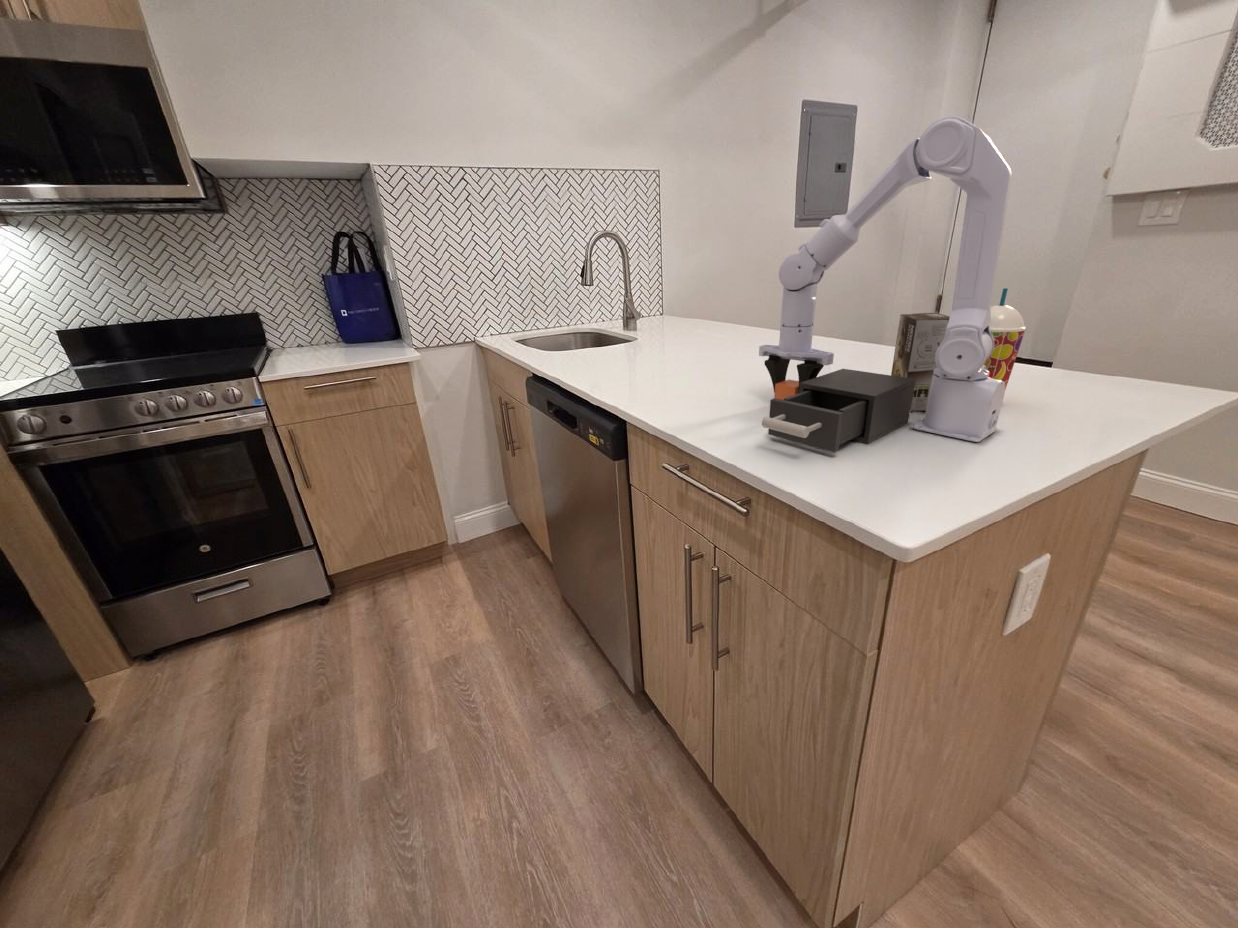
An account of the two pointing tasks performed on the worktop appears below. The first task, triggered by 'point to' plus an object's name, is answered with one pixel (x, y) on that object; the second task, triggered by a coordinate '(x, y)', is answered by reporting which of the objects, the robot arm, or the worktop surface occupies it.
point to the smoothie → (1004, 340)
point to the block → (786, 389)
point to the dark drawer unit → (870, 398)
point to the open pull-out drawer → (817, 419)
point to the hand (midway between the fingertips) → (790, 397)
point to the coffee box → (918, 352)
